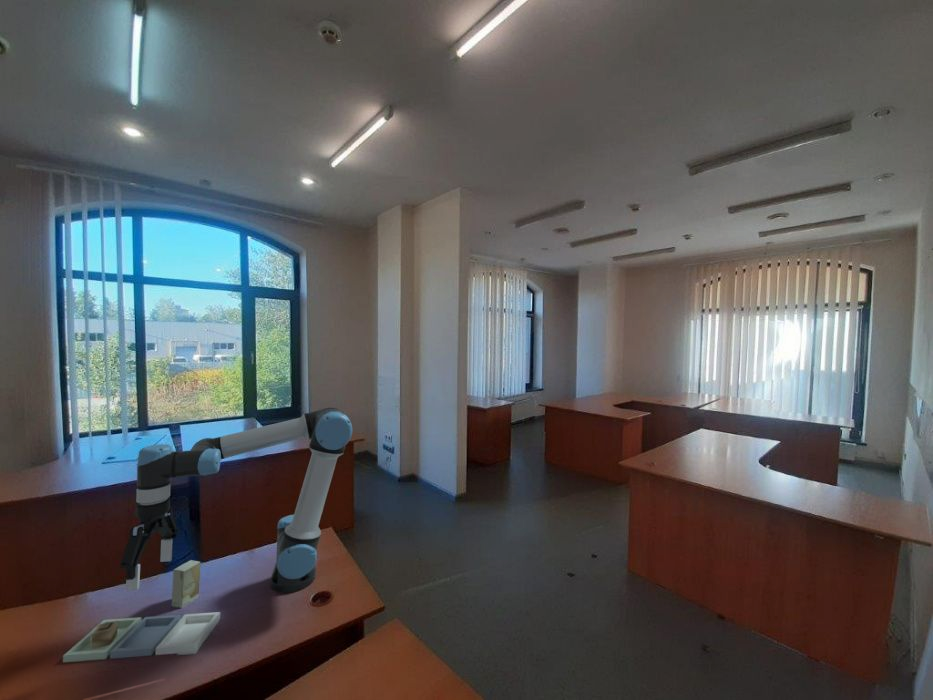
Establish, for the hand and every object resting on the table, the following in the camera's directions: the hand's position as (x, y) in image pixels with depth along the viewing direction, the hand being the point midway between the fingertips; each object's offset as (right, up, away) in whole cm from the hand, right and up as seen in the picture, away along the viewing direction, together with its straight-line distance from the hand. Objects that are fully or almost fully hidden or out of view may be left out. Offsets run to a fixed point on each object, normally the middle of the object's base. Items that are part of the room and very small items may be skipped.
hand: (150, 574), depth 106 cm
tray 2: (-1, -19, 0) cm, 19 cm away
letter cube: (-11, -18, -2) cm, 21 cm away
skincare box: (-2, -19, +16) cm, 25 cm away
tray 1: (-12, -19, -2) cm, 22 cm away
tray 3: (+10, -19, +2) cm, 22 cm away
